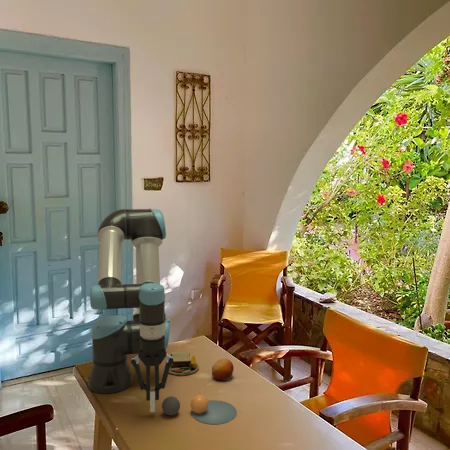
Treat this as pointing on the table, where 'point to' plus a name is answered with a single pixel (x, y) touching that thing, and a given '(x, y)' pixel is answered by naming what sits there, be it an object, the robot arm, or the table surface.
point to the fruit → (222, 369)
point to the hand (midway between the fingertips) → (152, 409)
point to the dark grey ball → (171, 405)
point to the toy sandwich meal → (183, 364)
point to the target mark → (216, 413)
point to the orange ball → (199, 404)
